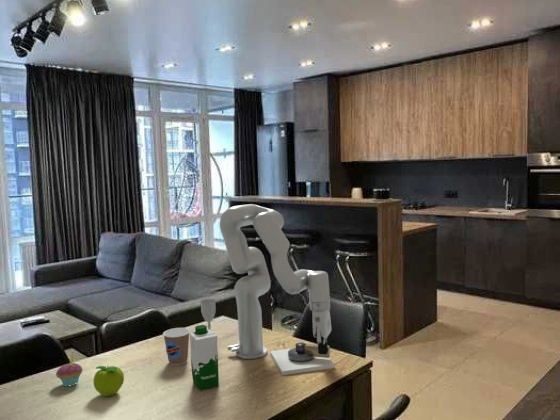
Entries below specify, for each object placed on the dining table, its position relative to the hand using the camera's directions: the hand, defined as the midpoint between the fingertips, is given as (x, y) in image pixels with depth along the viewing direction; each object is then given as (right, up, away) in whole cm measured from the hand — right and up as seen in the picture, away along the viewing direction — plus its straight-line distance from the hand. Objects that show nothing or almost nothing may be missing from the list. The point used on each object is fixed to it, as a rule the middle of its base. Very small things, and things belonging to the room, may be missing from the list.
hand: (323, 353), depth 175 cm
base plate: (-8, -5, +6) cm, 11 cm away
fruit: (-74, -9, -15) cm, 76 cm away
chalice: (-47, -5, +32) cm, 57 cm away
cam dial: (-5, -3, +5) cm, 8 cm away
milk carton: (-42, -8, -11) cm, 44 cm away
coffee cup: (-56, -7, +10) cm, 57 cm away
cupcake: (-91, -9, -6) cm, 92 cm away
